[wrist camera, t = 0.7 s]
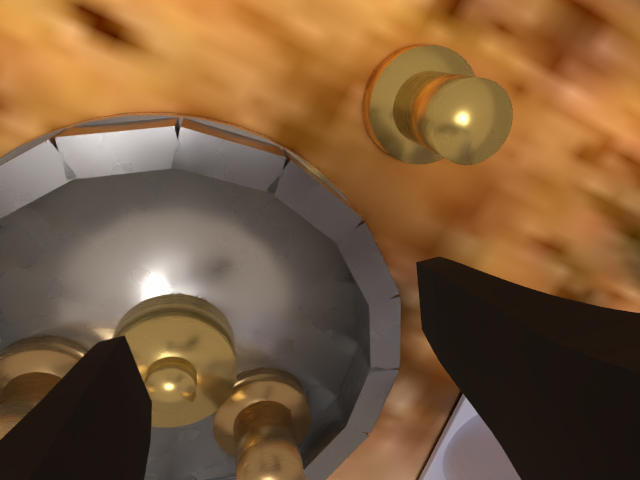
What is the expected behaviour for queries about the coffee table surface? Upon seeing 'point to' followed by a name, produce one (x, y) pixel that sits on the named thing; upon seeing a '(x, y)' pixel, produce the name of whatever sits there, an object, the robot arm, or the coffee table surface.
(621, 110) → the coffee table surface
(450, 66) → the gear
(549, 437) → the robot arm
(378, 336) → the carrier
